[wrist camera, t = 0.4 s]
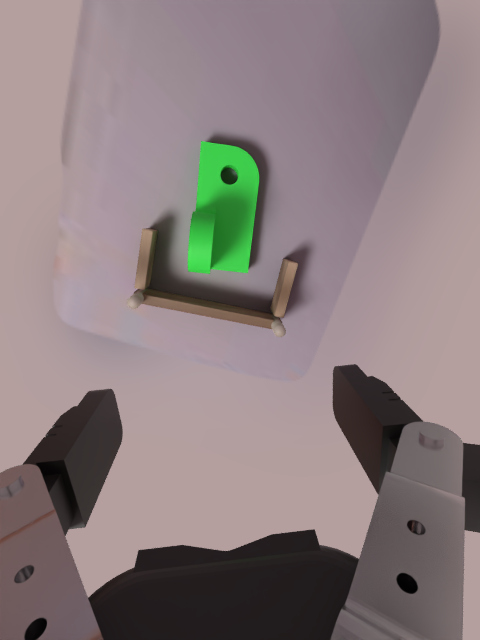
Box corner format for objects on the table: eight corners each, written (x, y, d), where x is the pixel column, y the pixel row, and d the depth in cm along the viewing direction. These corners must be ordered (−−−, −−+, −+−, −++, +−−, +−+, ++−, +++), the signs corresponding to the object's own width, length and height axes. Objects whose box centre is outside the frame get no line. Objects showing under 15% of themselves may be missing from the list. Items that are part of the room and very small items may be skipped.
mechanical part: (246, 270, 37) (253, 282, 29) (193, 264, 36) (186, 275, 28) (260, 154, 33) (273, 134, 26) (202, 145, 33) (197, 122, 25)
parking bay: (147, 227, 34) (136, 229, 30) (292, 260, 36) (303, 266, 32) (138, 296, 36) (126, 307, 32) (275, 323, 39) (284, 337, 34)
